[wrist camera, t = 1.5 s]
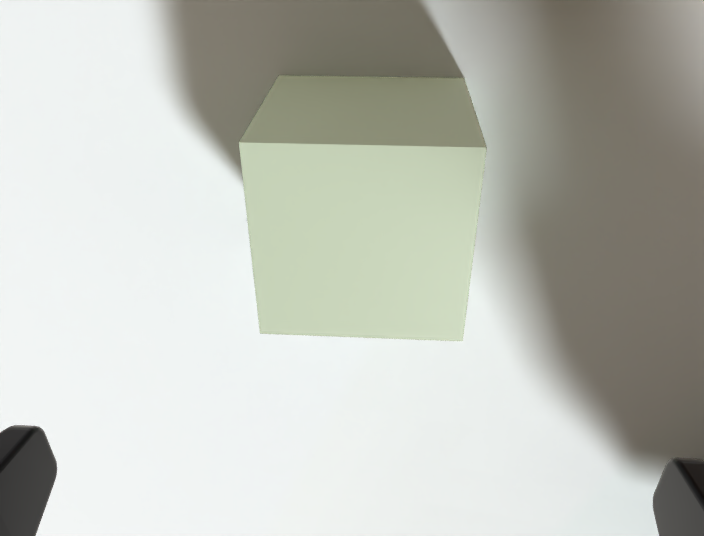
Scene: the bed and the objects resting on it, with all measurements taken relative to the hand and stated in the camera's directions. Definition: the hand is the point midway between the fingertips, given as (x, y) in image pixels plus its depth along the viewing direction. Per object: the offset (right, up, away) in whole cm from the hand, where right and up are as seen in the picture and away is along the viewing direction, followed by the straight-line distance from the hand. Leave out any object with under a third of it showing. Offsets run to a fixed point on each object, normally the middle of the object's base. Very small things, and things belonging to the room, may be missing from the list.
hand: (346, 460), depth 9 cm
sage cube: (+1, +6, +9) cm, 11 cm away
